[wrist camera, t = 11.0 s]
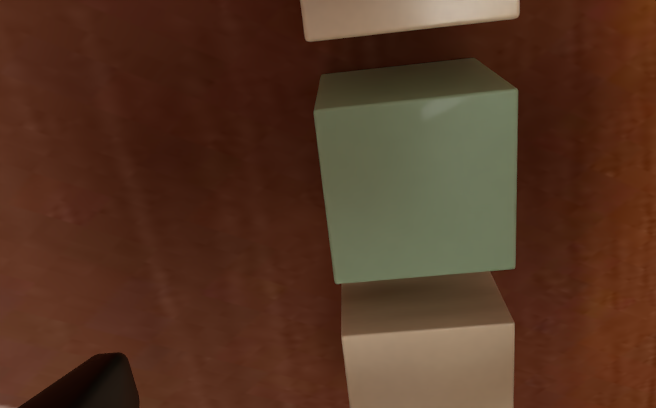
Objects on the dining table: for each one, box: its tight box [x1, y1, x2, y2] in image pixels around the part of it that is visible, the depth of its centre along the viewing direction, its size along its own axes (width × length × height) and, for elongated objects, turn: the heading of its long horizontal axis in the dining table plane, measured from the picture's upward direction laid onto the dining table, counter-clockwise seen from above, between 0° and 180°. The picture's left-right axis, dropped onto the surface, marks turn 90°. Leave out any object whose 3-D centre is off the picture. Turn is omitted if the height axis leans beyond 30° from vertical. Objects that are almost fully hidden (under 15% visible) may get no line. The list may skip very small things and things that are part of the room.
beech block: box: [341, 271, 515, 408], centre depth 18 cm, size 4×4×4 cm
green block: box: [313, 58, 518, 284], centre depth 15 cm, size 4×4×4 cm
